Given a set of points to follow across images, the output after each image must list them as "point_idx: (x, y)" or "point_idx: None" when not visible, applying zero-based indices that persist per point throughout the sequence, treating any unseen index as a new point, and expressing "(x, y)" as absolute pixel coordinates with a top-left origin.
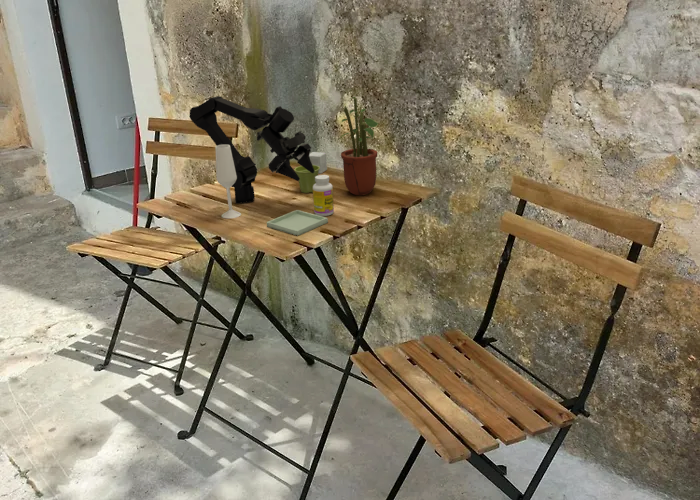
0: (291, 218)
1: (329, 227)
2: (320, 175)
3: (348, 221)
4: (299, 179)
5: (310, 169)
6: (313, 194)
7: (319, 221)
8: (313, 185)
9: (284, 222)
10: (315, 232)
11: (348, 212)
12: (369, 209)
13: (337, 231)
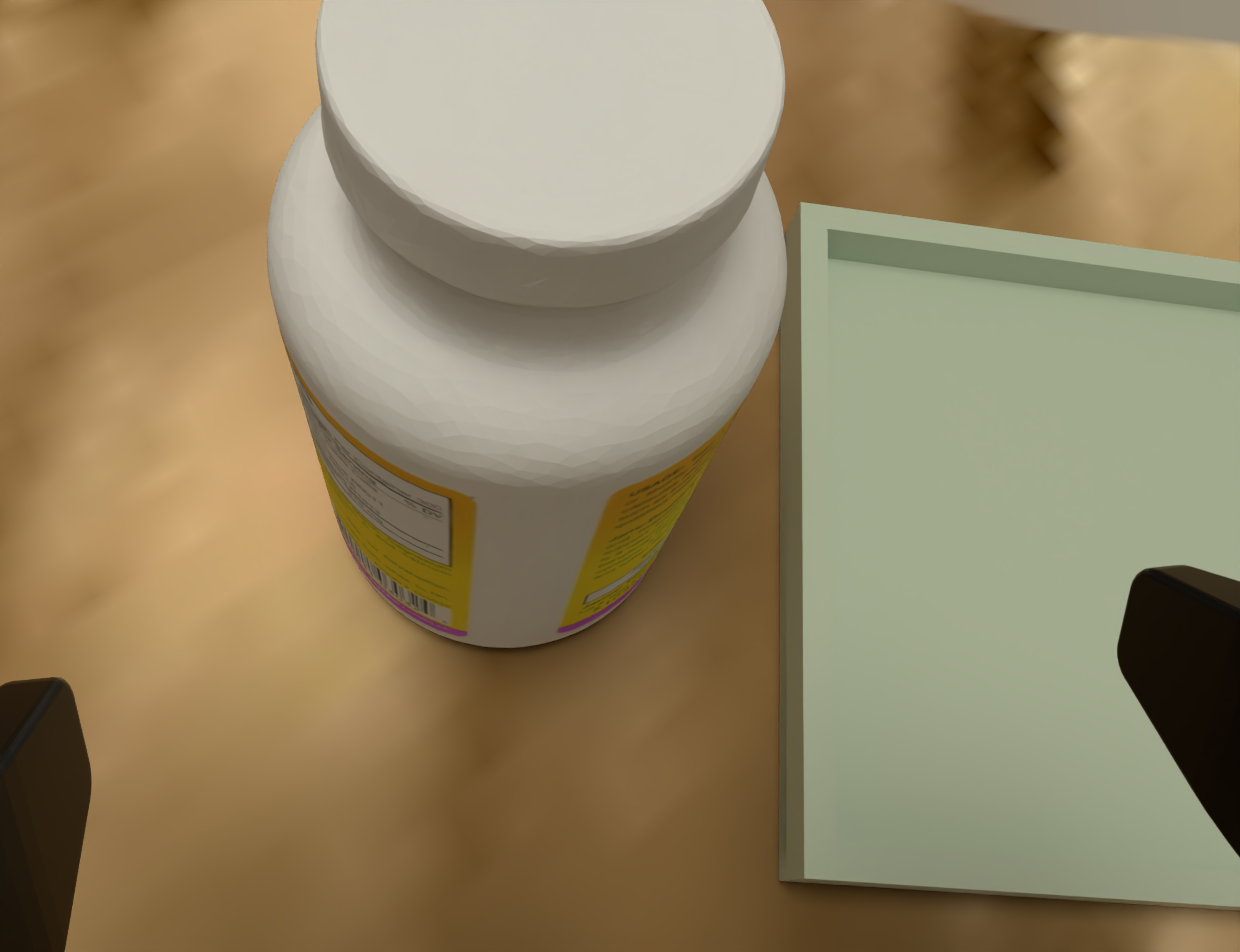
0: (1034, 772)
1: (894, 144)
2: (455, 155)
3: None
4: (1152, 576)
5: (32, 883)
6: (715, 450)
7: (967, 225)
8: (683, 405)
9: None
10: (1113, 202)
11: None
12: (43, 14)
13: (929, 12)
